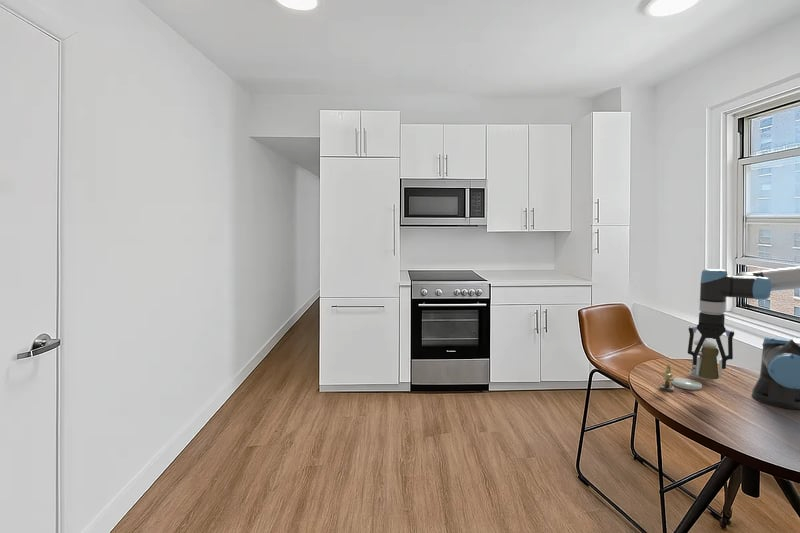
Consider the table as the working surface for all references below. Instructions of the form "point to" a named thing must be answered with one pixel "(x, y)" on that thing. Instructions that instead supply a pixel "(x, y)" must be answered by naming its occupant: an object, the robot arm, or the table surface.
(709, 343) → the french press
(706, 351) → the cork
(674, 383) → the dish
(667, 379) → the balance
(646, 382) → the table surface
